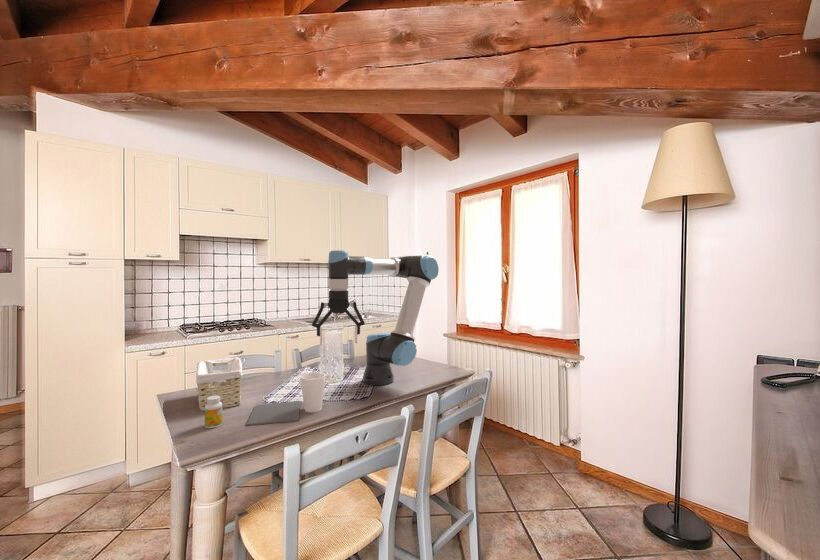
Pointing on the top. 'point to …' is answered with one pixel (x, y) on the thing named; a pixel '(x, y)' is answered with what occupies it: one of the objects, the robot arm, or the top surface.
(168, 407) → the top surface
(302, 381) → the foam cup
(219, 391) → the storage basket
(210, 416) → the supplement bottle
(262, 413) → the charcoal mat
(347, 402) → the top surface
